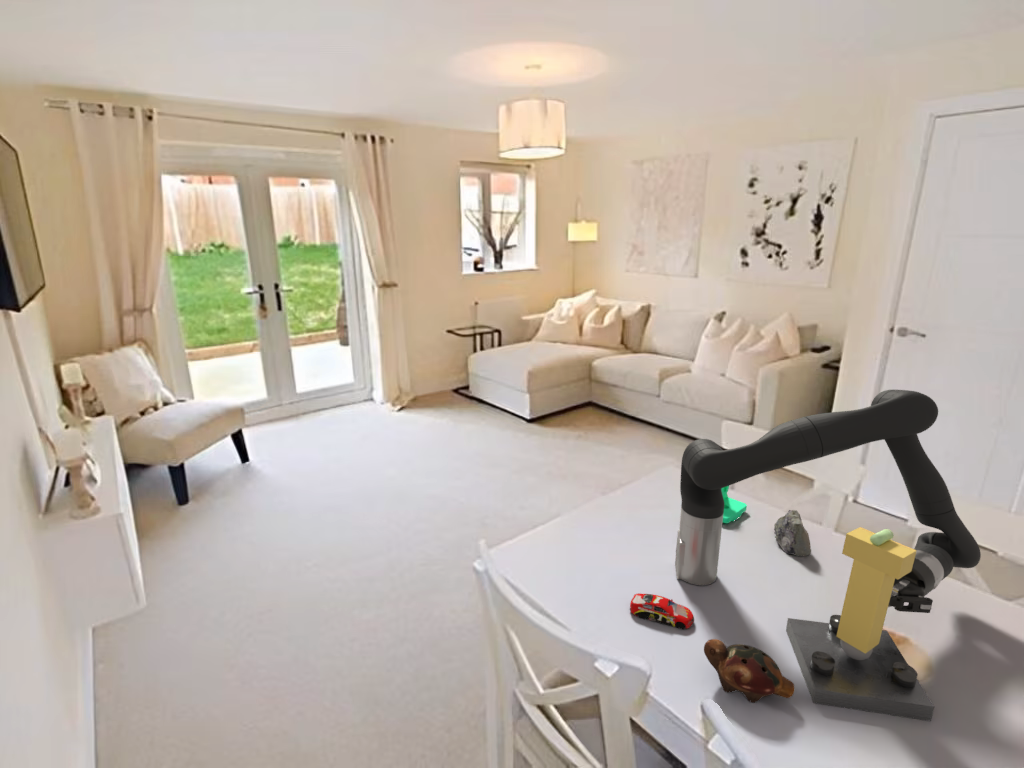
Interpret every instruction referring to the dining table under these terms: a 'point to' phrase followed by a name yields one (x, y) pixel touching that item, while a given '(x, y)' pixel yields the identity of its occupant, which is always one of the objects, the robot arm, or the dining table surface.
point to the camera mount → (731, 507)
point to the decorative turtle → (747, 671)
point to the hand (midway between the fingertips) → (871, 605)
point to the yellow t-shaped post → (870, 587)
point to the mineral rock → (792, 534)
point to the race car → (661, 610)
